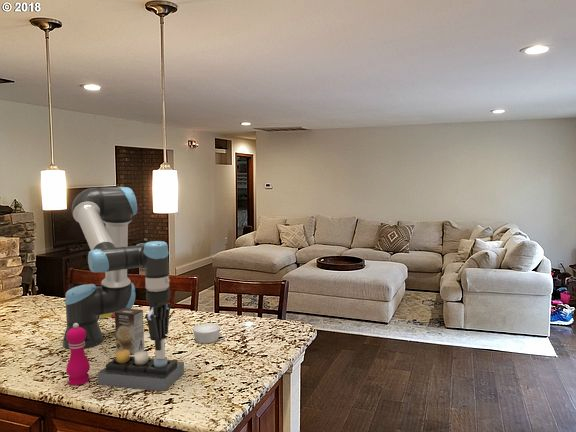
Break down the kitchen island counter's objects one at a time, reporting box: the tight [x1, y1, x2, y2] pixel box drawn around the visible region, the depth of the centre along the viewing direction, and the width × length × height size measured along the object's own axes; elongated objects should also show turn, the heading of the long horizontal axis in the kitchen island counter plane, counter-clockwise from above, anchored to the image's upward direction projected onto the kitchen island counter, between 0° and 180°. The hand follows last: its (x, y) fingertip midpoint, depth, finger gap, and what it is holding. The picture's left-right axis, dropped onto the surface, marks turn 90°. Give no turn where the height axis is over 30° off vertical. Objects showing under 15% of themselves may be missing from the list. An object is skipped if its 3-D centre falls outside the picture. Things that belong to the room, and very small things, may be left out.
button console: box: [97, 356, 185, 392], centre depth 157 cm, size 24×14×6 cm, turn 77°
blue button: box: [154, 356, 168, 368], centre depth 155 cm, size 4×4×7 cm
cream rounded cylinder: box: [133, 350, 149, 366], centre depth 156 cm, size 4×4×7 cm
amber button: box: [115, 349, 131, 365], centre depth 158 cm, size 4×4×7 cm
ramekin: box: [192, 322, 221, 344], centre depth 193 cm, size 11×11×5 cm
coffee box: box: [114, 307, 145, 355], centre depth 182 cm, size 9×6×16 cm
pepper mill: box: [65, 323, 91, 386], centre depth 155 cm, size 7×7×20 cm
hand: (160, 358), depth 155 cm, fingers closed
